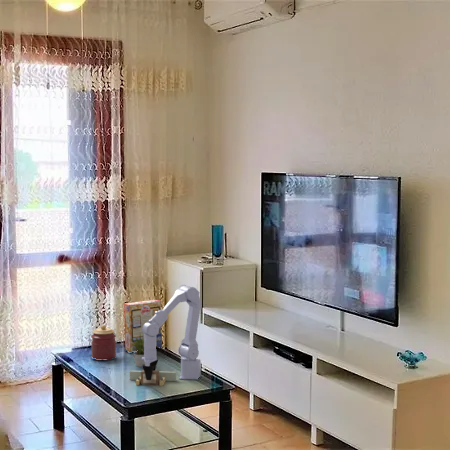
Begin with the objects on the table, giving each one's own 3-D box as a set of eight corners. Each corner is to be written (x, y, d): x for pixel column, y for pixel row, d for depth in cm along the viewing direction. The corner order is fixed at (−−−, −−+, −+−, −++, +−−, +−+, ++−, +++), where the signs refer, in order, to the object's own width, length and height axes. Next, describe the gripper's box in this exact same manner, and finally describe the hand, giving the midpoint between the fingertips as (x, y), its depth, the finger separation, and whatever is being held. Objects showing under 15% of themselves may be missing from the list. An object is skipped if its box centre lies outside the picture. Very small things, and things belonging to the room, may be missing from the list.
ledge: (176, 380, 341) (176, 371, 340) (172, 385, 331) (172, 377, 331) (130, 378, 343) (130, 370, 343) (125, 384, 333) (125, 376, 333)
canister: (86, 357, 383) (86, 324, 382) (107, 353, 391) (107, 321, 390) (100, 362, 373) (99, 328, 372) (121, 358, 382) (120, 325, 381)
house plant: (133, 371, 356) (133, 338, 355) (120, 365, 368) (119, 333, 367) (158, 366, 365) (158, 334, 364) (144, 360, 376) (144, 330, 375)
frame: (159, 383, 336) (159, 370, 336) (158, 385, 333) (158, 372, 332) (142, 382, 337) (142, 370, 336) (141, 384, 334) (140, 371, 333)
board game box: (156, 346, 408) (156, 299, 406) (162, 348, 403) (162, 300, 401) (124, 351, 396) (124, 302, 394) (129, 354, 391) (129, 304, 389)
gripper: (144, 344, 341) (145, 373, 342) (138, 352, 327) (138, 381, 328) (159, 345, 341) (159, 373, 342) (153, 352, 326) (153, 382, 327)
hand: (150, 377), depth 335 cm, fingers open, 7 cm apart
